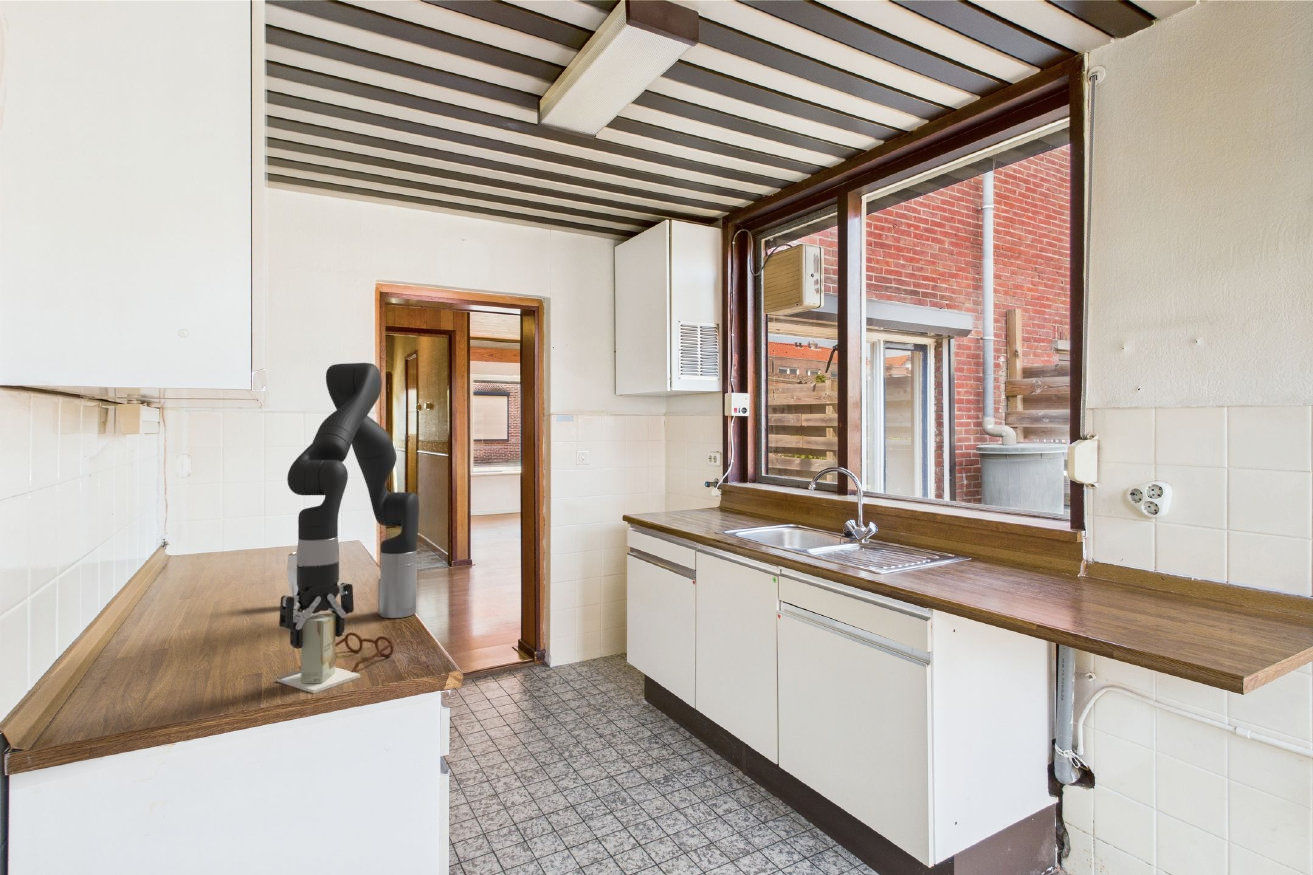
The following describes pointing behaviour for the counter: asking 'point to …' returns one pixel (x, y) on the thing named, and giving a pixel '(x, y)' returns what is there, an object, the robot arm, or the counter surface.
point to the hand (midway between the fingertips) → (318, 641)
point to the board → (335, 679)
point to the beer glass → (292, 575)
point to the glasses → (362, 646)
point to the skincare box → (318, 648)
